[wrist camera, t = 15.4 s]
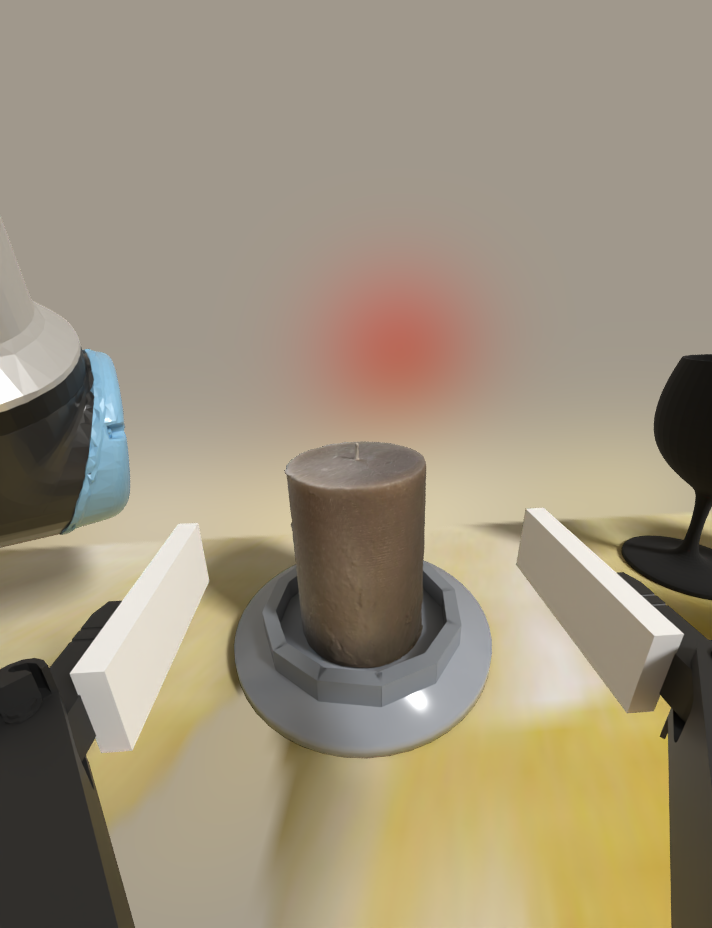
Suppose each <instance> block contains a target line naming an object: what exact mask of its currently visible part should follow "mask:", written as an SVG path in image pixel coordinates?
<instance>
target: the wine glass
mask: <svg viewBox="0 0 712 928" xmlns="http://www.w3.org/2000/svg"><path fill="white" fill-rule="evenodd" d="M654 436H655V440H656V444H657V446H658V449H659V451H660V453H661V454H662V456H663V458H664V459H665V461H666V462H667V463H668V465H669V466H670V467H671V468H672V469H673V470H674V471H675V472H676V473H677V474H678V475H679V476H680V477H681V478H682V479H683V480H685V481H686V482H687V483H688V484H689V485H690V486H692V487H693V489H694V490H695V494H696V499H695V507H694V511H693V516H692V519H691V523H690V526H689V529H688V532H687V534H686V536H685V538H684V540H681V539H676V538H671V537H663V536H639V537H634V538H631V539H629V540H627V541H626V542H625V543H624V544H623V547H622V555H623V557H624V559H625V560H626V561H627V563H628V564H629V565H630V566H631V567H632V568H634V569H635V570H636V571H638V572H639V573H640V574H642V575H643V576H645V577H647V578H648V579H650V580H652V581H654V582H656V583H658V584H660V585H663V586H665V587H667V588H670V589H672V590H675V591H678V592H681V593H684V594H687V595H691V596H695V597H699V598H704V599H709V600H712V549H710V548H707V547H705V546H702V545H699V541H700V536H701V532H702V529H703V526H704V523H705V521H706V518H707V516H708V514H709V511H710V509H711V507H712V354H705V355H689V356H683V357H682V358H681V360H680V361H679V363H678V364H677V366H676V367H675V369H674V371H673V372H672V374H671V376H670V377H669V379H668V381H667V383H666V385H665V387H664V389H663V391H662V394H661V396H660V399H659V402H658V405H657V409H656V412H655V418H654Z"/></svg>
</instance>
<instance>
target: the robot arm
mask: <svg viewBox="0 0 712 928" xmlns="http://www.w3.org/2000/svg"><path fill="white" fill-rule="evenodd" d="M124 428H125V426H124V420H123V407H122V400H121V395H120V389H119V384H118V379H117V375H116V371H115V368H114V364H113V362H112V360H111V358H110V357H109V356H108V355H107V354H105V353H102V352H95V351H93V350H90V349H85V350H82V349H81V345H80V341H79V339H78V336H77V334H76V332H75V330H74V329H73V328H72V326H71V325H70V324H69V323H68V321H66V320H65V319H64V318H63V317H61V316H60V315H58V314H57V313H55V312H54V311H52V310H50V309H48V308H46V307H44V306H42V305H40V304H38V303H36V302H34V301H32V300H31V297H30V295H29V292H28V289H27V286H26V284H25V281H24V278H23V276H22V273H21V270H20V267H19V265H18V262H17V259H16V257H15V254H14V251H13V248H12V246H11V243H10V240H9V238H8V235H7V232H6V229H5V227H4V224H3V221H2V218H1V216H0V548H1V547H5V546H9V545H14V544H18V543H22V542H27V541H31V540H36V539H40V538H44V537H49V536H53V535H58V534H61V535H63V534H67V533H70V532H71V531H73V530H74V529H75V528H79V527H81V526H85V525H89V524H92V523H96V522H99V521H102V520H106V519H109V518H112V517H114V516H116V515H117V514H119V513H120V512H121V511H122V510H123V509H124V507H125V506H126V504H127V502H128V499H129V494H130V469H129V457H128V456H129V455H128V447H127V439H126V435H125V432H124ZM516 565H517V566H518V568H519V569H520V570H521V572H522V573H523V574H524V576H525V577H526V578H527V580H528V581H529V582H530V584H531V585H532V586H533V588H534V589H535V590H536V592H537V593H538V595H539V596H540V597H541V599H542V600H543V601H544V603H545V604H546V605H547V607H548V608H549V609H550V611H551V612H552V613H553V615H554V616H555V617H556V619H557V620H558V621H559V623H560V624H561V625H562V627H563V628H564V629H565V631H566V632H567V633H568V635H569V636H570V637H571V639H572V640H573V641H574V643H575V644H576V645H577V647H578V648H579V649H580V651H581V652H582V653H583V655H584V656H585V658H586V659H587V660H588V662H589V663H590V664H591V666H592V667H593V668H594V670H595V671H596V672H597V674H598V675H599V676H600V678H601V679H602V680H603V682H604V683H605V684H606V686H607V687H608V688H609V690H610V691H611V692H612V694H613V695H614V696H615V698H616V699H617V700H618V702H619V703H620V704H621V706H622V707H623V708H624V710H625V711H626V712H627V713H636V712H649V711H654V709H655V707H656V704H657V702H658V699H659V697H660V695H661V696H662V697H663V698H664V700H665V701H666V702H667V703H668V704H669V705H670V707H671V710H670V712H669V715H668V717H667V720H666V722H665V724H664V727H663V729H662V732H661V735H660V737H662V738H664V739H665V738H666V736H667V733H668V757H669V813H670V869H671V925H672V928H712V640H708V639H706V638H705V637H704V636H703V635H702V634H701V633H700V632H698V631H697V630H696V629H695V628H694V627H693V626H691V625H690V624H689V623H688V622H687V621H686V620H684V619H683V618H682V617H681V616H680V615H679V614H677V613H676V612H675V611H674V610H673V609H672V608H670V607H669V606H666V605H665V602H663V601H662V600H661V599H660V598H659V597H658V596H655V595H654V593H653V592H652V591H651V590H649V589H648V588H647V587H646V586H645V585H644V584H642V583H641V582H640V581H638V580H636V579H634V578H633V577H631V576H629V575H627V574H625V573H624V572H620V573H616V572H615V571H614V570H612V569H611V568H610V567H609V566H608V565H607V564H606V563H605V562H604V561H602V560H601V559H600V558H599V557H598V556H597V555H596V554H595V553H594V552H592V551H591V550H590V549H589V548H588V547H587V546H586V545H585V544H584V543H582V542H581V541H580V540H579V539H578V538H577V537H576V536H575V535H574V534H572V533H571V532H570V531H569V530H568V529H567V528H566V527H565V526H564V525H563V524H561V523H560V522H559V521H558V520H557V519H556V518H555V517H554V516H553V515H551V514H550V513H549V512H548V511H547V510H546V509H545V508H527V509H526V510H525V516H524V522H523V528H522V534H521V540H520V545H519V551H518V557H517V563H516ZM208 583H209V577H208V572H207V566H206V561H205V556H204V551H203V545H202V540H201V535H200V530H199V525H198V523H190V524H178V525H177V527H176V528H175V529H174V530H173V532H172V533H171V535H170V536H169V538H168V539H167V540H166V541H165V543H164V544H163V546H162V547H161V548H160V550H159V551H158V553H157V554H156V555H155V557H154V558H153V559H152V561H151V562H150V564H149V565H148V566H147V568H146V569H145V570H144V572H143V573H142V575H141V576H140V577H139V579H138V580H137V581H136V583H135V584H134V586H133V587H132V588H131V590H130V591H129V592H128V594H127V595H126V597H125V598H124V599H123V601H110V602H108V603H106V604H105V605H104V606H102V607H101V608H100V609H98V610H97V611H96V612H94V613H93V614H92V615H91V616H90V618H89V619H88V620H87V621H86V623H85V624H84V625H83V626H82V628H81V631H79V632H78V633H77V634H76V635H75V637H74V638H73V639H72V642H71V643H69V644H68V645H67V647H66V648H65V649H64V650H63V652H62V653H61V654H60V655H59V657H58V658H57V659H56V660H55V662H54V663H53V664H52V666H51V667H50V668H49V667H48V665H47V664H46V663H45V661H44V660H41V659H36V658H32V659H25V660H21V661H18V662H15V663H12V664H10V665H7V666H5V667H4V668H2V669H0V928H135V926H134V922H133V919H132V915H131V911H130V908H129V904H128V901H127V897H126V893H125V890H124V886H123V883H122V879H121V876H120V872H119V868H118V865H117V861H116V858H115V854H114V851H113V847H112V844H111V840H110V836H109V833H108V829H107V826H106V822H105V819H104V815H103V811H102V808H101V804H100V801H99V797H98V794H97V790H96V786H95V783H94V779H93V776H92V772H91V769H90V765H89V762H88V759H87V757H86V753H87V752H88V750H89V748H90V746H91V744H92V743H93V741H94V739H96V741H97V744H98V746H99V749H100V751H101V753H107V752H120V751H132V750H133V748H134V746H135V744H136V741H137V739H138V737H139V735H140V733H141V730H142V728H143V726H144V724H145V722H146V719H147V717H148V715H149V713H150V711H151V708H152V706H153V704H154V702H155V699H156V697H157V695H158V693H159V691H160V688H161V686H162V684H163V682H164V680H165V677H166V675H167V673H168V671H169V669H170V666H171V664H172V662H173V660H174V658H175V655H176V653H177V651H178V649H179V647H180V644H181V642H182V640H183V638H184V636H185V633H186V631H187V629H188V627H189V625H190V622H191V620H192V618H193V616H194V613H195V611H196V609H197V607H198V605H199V602H200V600H201V598H202V596H203V594H204V591H205V589H206V587H207V585H208Z"/></svg>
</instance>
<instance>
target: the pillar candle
mask: <svg viewBox="0 0 712 928" xmlns="http://www.w3.org/2000/svg"><path fill="white" fill-rule="evenodd" d="M284 471H285V474H286V475H287V481H288V491H289V500H290V510H291V517H292V523H291V527H292V531H293V542H294V551H295V560H296V570H297V580H298V588H299V599H300V610H301V619H302V626H303V633H304V635H305V637H306V640H307V642H308V644H309V646H310V647H311V648H312V649H313V650H314V651H315V652H316V653H317V654H318V655H320V656H321V657H323V658H325V659H326V660H328V661H330V662H333V663H334V664H339V665H342V666H348V667H357V668H375V667H381V666H384V665H386V664H390V663H393V662H394V661H396V660H398V659H401V658H402V656H405V654H407V653H408V652H409V651H410V650H411V649H412V648H413V647H414V646H415V644H416V643H417V641H418V639H419V638H420V636H421V633H422V630H423V625H422V612H421V609H422V602H423V601H422V600H423V556H424V526H425V525H424V524H425V489H426V488H425V486H426V483H425V481H426V463H425V460H424V457H423V456H422V455H421V454H420V453H418V452H417V451H415V450H413V449H411V448H407V447H404V446H400V445H395V444H391V443H380V442H350V443H349V442H344V443H340V444H331V445H326V446H322V447H320V448H317V449H312V450H308V451H307V452H304V453H301V454H299V455H298V456H296V457H295V458H294V459H292V460H291V461H290V462H289V463H288V465H287V466H286V470H284Z"/></svg>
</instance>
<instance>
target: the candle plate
mask: <svg viewBox="0 0 712 928" xmlns="http://www.w3.org/2000/svg"><path fill="white" fill-rule="evenodd" d="M422 601H423V602H422V609H421V612H422V625H423V630H422V633H421V636H420V638H419V639H418V641H417V643H416V644H415V646H414V647H413V648H412V649H411V650H410V651H409V652H408V653H407V654H405V656H402V658H401V659H398V660H396V661H394V662H393V663H390V664H386V665H384V666H381V667H375V668H357V667H348V666H342V665H339V664H334V663H333V662H330V661H328V660H326V659H325V658H323V657H321V656H320V655H318V654H317V653H316V652H315V651H314V650H313V649H312V648H311V647H310V646H309V644H308V642H307V640H306V637H305V635H304V633H303V626H302V619H301V610H300V599H299V588H298V580H297V570H296V565H294V566H292V567H290V568H288V569H286V570H285V571H283V572H281V573H280V574H278V575H277V576H275V577H274V578H273V579H271V580H270V581H269V582H268V583H267V584H265V585H264V586H263V587H262V588H261V589H260V590H259V591H258V592H257V594H256V595H255V596H254V597H253V598H252V600H251V601H250V602H249V604H248V606H247V607H246V609H245V610H244V612H243V614H242V617H241V619H240V621H239V624H238V627H237V631H236V635H235V644H234V652H235V663H236V669H237V673H238V677H239V681H240V685H241V688H242V690H243V692H244V694H245V696H246V699H247V700H248V702H249V703H250V705H251V706H252V708H253V709H254V710H255V712H256V713H257V714H258V715H259V716H260V717H261V718H262V719H263V720H264V721H265V722H266V723H267V724H268V726H270V727H271V728H272V729H274V730H275V731H277V732H278V733H279V734H281V735H282V736H283V737H285V738H287V739H289V740H291V741H293V742H295V743H297V744H299V745H300V746H302V747H305V748H308V749H311V750H314V751H317V752H320V753H324V754H329V755H335V756H340V757H350V758H374V757H384V756H391V755H395V754H399V753H403V752H407V751H411V750H414V749H416V748H418V747H421V746H423V745H426V744H428V743H431V742H432V741H434V740H436V739H437V738H439V737H441V736H442V735H444V734H446V733H447V732H449V731H450V730H451V729H452V728H454V727H455V726H456V725H457V724H458V723H459V722H461V721H462V720H463V719H464V718H465V716H466V715H467V714H468V713H469V712H470V711H471V709H472V708H473V707H474V706H475V704H476V702H477V701H478V699H479V697H480V696H481V694H482V692H483V689H484V687H485V684H486V681H487V679H488V674H489V668H490V662H491V654H492V639H491V634H490V629H489V625H488V622H487V619H486V617H485V614H484V612H483V610H482V609H481V607H480V605H479V603H478V602H477V600H476V599H475V598H474V596H473V595H472V594H471V593H470V592H469V591H468V590H467V589H466V587H465V586H464V585H463V584H461V583H460V582H459V581H458V580H457V579H455V578H454V577H453V576H451V575H450V574H448V573H447V572H445V571H444V570H442V569H440V568H438V567H437V566H435V565H433V564H431V563H428V562H426V561H424V560H423V600H422Z"/></svg>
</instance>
